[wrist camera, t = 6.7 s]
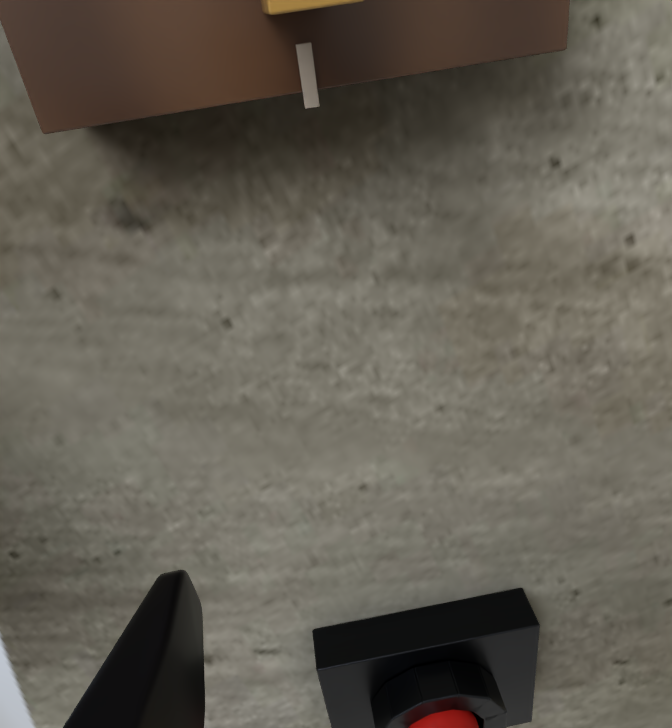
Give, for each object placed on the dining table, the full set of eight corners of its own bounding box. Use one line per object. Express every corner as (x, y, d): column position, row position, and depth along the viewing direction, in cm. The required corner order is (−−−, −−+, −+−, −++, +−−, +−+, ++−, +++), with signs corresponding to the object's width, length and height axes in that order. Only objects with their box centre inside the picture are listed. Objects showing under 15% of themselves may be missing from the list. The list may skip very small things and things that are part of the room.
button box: (335, 721, 35) (344, 799, 31) (312, 629, 30) (320, 708, 27) (517, 684, 35) (545, 756, 32) (522, 587, 30) (557, 660, 27)
